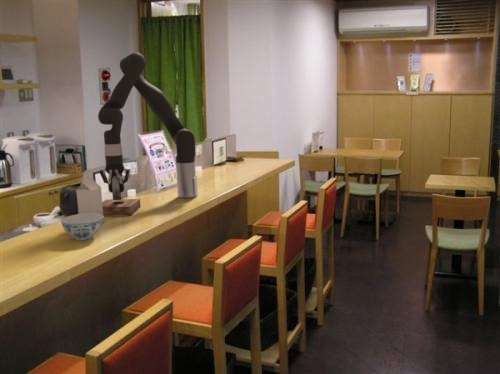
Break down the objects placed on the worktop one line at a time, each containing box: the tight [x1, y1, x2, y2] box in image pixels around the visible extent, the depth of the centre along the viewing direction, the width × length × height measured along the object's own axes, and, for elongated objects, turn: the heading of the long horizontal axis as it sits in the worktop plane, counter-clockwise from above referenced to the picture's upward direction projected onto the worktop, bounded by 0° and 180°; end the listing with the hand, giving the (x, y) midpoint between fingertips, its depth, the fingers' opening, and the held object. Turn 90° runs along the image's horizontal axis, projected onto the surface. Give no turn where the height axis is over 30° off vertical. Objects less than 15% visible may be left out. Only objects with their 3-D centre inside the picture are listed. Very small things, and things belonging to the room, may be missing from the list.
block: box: [102, 198, 142, 217], centre depth 261 cm, size 16×16×4 cm
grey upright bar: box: [111, 177, 123, 200], centre depth 260 cm, size 4×4×10 cm
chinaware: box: [60, 213, 103, 241], centre depth 220 cm, size 15×15×8 cm
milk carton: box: [75, 176, 105, 224], centre depth 240 cm, size 7×7×19 cm
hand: (116, 191), depth 260 cm, fingers closed on grey upright bar, 4 cm apart
